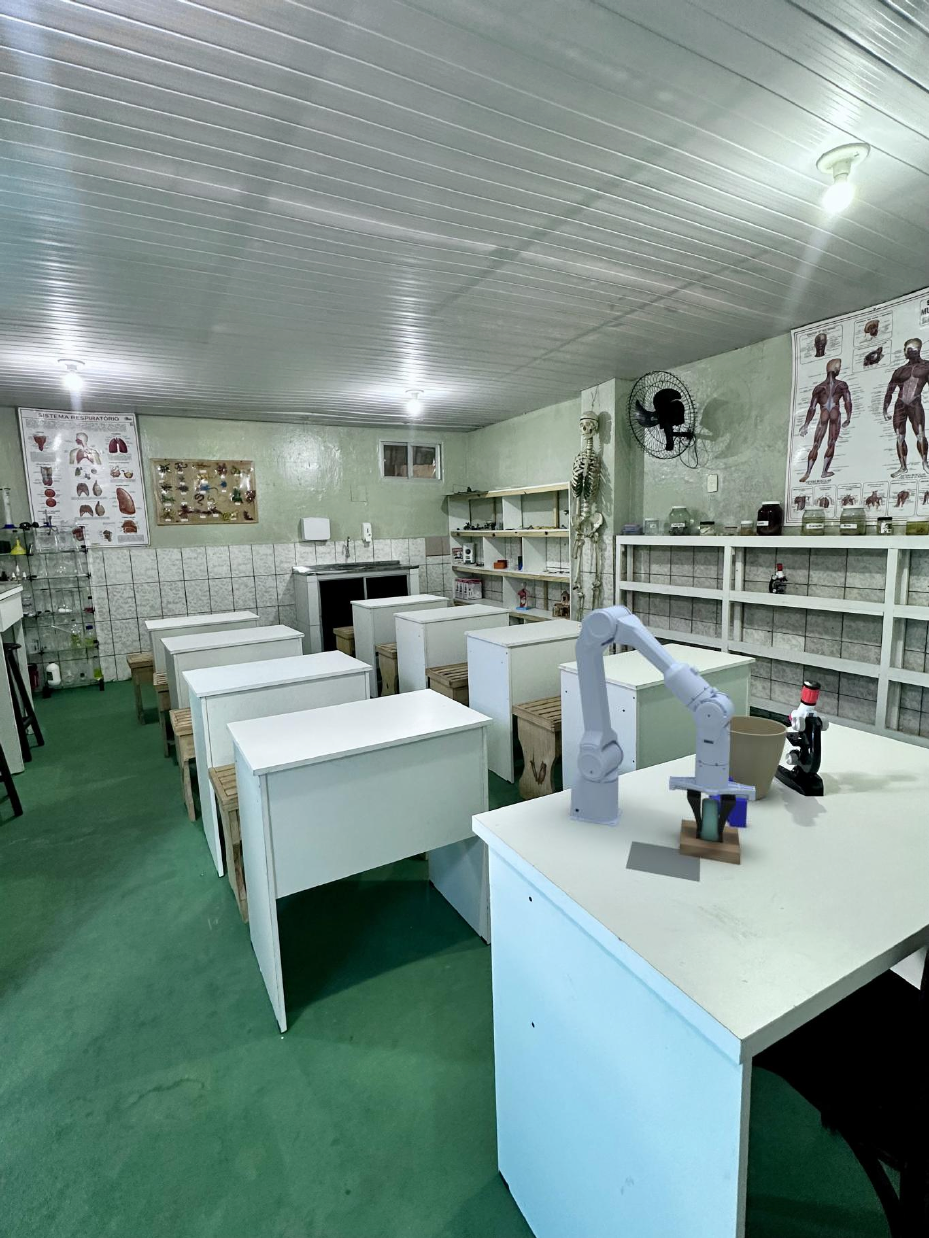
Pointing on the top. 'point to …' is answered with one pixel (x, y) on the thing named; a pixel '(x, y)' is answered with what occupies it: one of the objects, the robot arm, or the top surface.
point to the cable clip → (736, 811)
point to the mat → (663, 861)
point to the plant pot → (755, 751)
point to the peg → (710, 819)
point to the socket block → (710, 844)
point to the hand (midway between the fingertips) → (709, 830)
